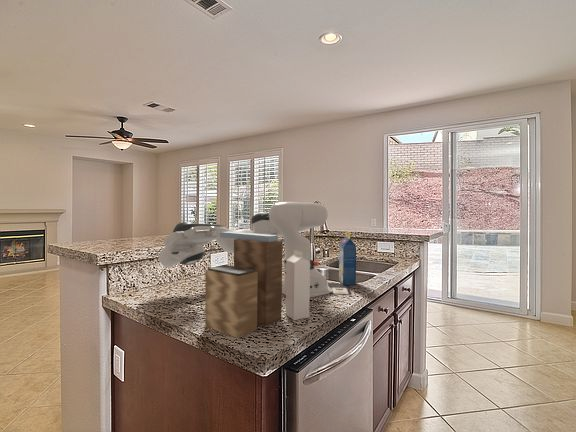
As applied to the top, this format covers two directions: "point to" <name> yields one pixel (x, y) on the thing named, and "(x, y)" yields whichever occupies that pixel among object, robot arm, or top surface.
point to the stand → (263, 275)
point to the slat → (249, 236)
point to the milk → (297, 286)
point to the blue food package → (347, 261)
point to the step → (231, 300)
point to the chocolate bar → (339, 288)
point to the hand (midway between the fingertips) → (204, 228)
